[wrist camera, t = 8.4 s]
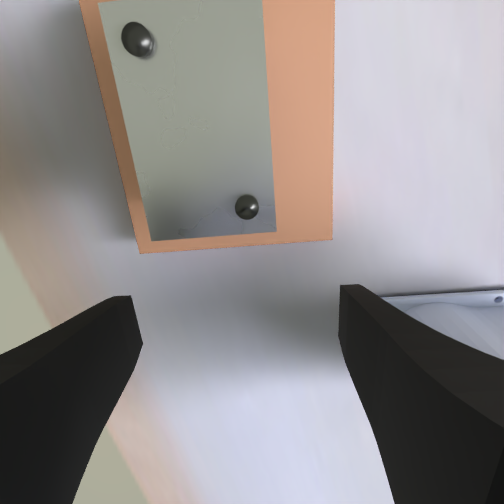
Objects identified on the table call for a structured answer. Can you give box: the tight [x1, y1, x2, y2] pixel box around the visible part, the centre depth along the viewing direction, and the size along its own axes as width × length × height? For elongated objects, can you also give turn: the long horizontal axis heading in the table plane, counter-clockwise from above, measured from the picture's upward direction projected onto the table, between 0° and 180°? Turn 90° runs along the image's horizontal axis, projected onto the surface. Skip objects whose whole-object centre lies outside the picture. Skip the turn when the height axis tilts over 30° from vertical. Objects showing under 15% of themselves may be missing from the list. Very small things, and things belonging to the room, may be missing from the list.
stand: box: [79, 0, 335, 254], centre depth 16 cm, size 11×12×2 cm
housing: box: [98, 0, 277, 241], centre depth 12 cm, size 7×4×6 cm, turn 5°
